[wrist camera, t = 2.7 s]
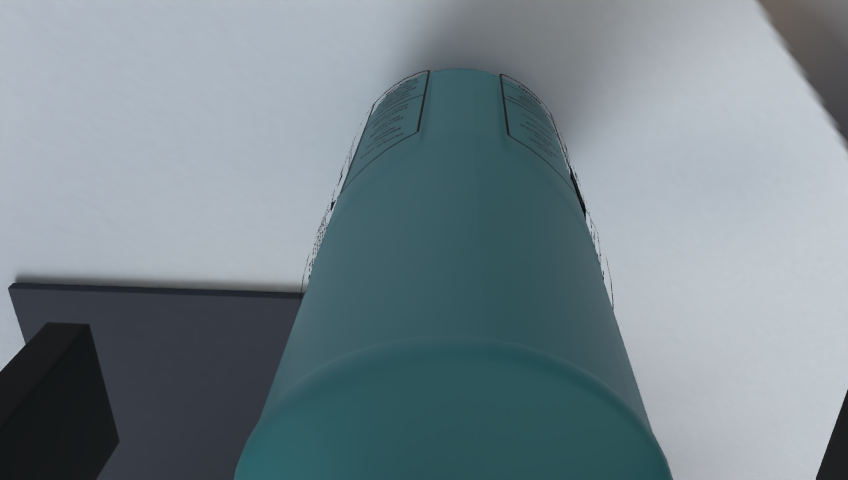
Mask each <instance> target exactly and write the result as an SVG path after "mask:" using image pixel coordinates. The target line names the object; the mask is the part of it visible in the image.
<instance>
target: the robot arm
mask: <svg viewBox="0 0 848 480" xmlns="http://www.w3.org/2000/svg"><path fill="white" fill-rule="evenodd" d="M119 442H120V440H119V437H118V433H117V429H116V425H115V421H114V417H113V413H112V409H111V406H110V402H109V398H108V394H107V390H106V386H105V382H104V379H103V375H102V371H101V367H100V363H99V359H98V355H97V352H96V348H95V344H94V340H93V336H92V332H91V328H90V324H80V323H57V322H47V323H46V324H45V325H44V326H43V327H42V328H41V329H40V330H39V331H38V332H37V334H36V335H35V336H34V337H33V338H32V339H31V340H30V341H29V342H28V343H27V344H26V345H25V346H24V347H23V348H22V349H21V350H20V351H19V353H18V354H17V355H16V356H15V357H14V358H13V359H12V360H11V361H10V362H9V363H8V364H7V365H6V366H5V367H4V368H3V369H2V370H1V372H0V480H96V479H97V478H98V476H99V474H100V473H101V471H102V470H103V468H104V466H105V465H106V463H107V462H108V460H109V458H110V457H111V455H112V454H113V452H114V450H115V449H116V447H117V446H118V444H119ZM816 480H848V390H847V393H846V396H845V399H844V402H843V404H842V407H841V410H840V413H839V415H838V418H837V421H836V424H835V427H834V429H833V432H832V435H831V438H830V441H829V443H828V446H827V449H826V452H825V455H824V457H823V460H822V463H821V466H820V468H819V471H818V474H817V477H816Z"/></svg>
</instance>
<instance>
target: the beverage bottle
mask: <svg viewBox="0 0 848 480" xmlns="http://www.w3.org/2000/svg"><path fill="white" fill-rule="evenodd" d="M426 71H428V74H424V75H421V76H419V77H417V78H414V79H412V80H411V79H410V80H408V81H405V82H404V83H405V84H404V83H403V85H402V84H400V85H401V86H400V85H399V86H400V87H398V86H397V87H398V88H397V89H396V90H394V91H393V92H391V91H390V92H391V93H390V92H389V93H390V94H389V93H387V94H389V95H387V94H386V95H387V96H386V97H385V98H384V99H382V100H383V101H382V102H381V103H380V104H379V105H378V107H377V108H376V110H375V111H374V112H373V114H372V115H371V113H372V110H373V107H374V105H375V103H376V102H377V101H378V100H377V101H376V102H375V103H374V104H373V107H372V110H371V113H370V115H371V117H370V115H369V118H370V119H369V118H368V121H367V123H366V126H365V128H364V131H363V133H362V136H361V138H360V141H359V144H358V146H357V149H356V152H355V155H354V157H353V160H352V163H351V165H350V168H348V170H349V171H348V173H347V176H346V179H345V181H344V184H343V187H342V189H341V192H340V195H339V196H338V200H337V199H336V200H337V203H336V205H335V208H334V211H333V213H332V216H331V219H330V221H329V224H328V227H326V232H324V233H325V235H322V237H323V236H324V237H323V239H322V243H321V245H319V247H320V248H319V251H318V250H317V251H318V253H317V256H316V259H314V260H315V261H314V264H313V263H312V262H313V261H312V262H310V264H311V263H312V266H313V268H312V271H311V275H309V277H310V278H308V279H309V283H308V286H307V289H306V292H305V294H304V297H303V300H302V303H301V295H300V308H299V311H298V314H297V317H296V319H295V322H294V325H293V328H292V331H291V333H290V336H289V339H288V342H287V344H286V347H285V350H284V353H283V356H282V358H281V361H280V364H279V367H278V370H277V372H276V375H275V378H274V381H273V383H272V386H271V389H270V392H269V395H268V397H267V400H266V403H265V406H264V408H263V411H262V414H261V417H260V420H259V421H258V423H257V424H256V426H255V428H254V429H253V431H252V433H251V434H250V436H249V438H248V439H247V442H246V444H245V447H244V449H243V452H242V454H241V456H240V459H239V462H238V464H237V467H236V470H235V475H234V480H673V478H672V475H671V472H670V469H669V466H668V462H667V459H666V457H665V455H664V453H663V451H662V449H661V447H660V446H659V444H658V442H657V440H656V438H655V436H654V434H653V432H652V430H651V426H650V423H649V420H648V417H647V414H646V411H645V408H644V405H643V402H642V399H641V396H640V392H639V389H638V386H637V383H636V380H635V377H634V374H633V371H632V368H631V365H630V361H629V358H628V355H627V352H626V349H625V346H624V343H623V340H622V337H621V334H620V331H619V327H618V324H617V321H616V318H615V315H614V312H613V309H612V306H611V303H610V300H609V297H608V293H607V290H606V287H605V284H604V281H603V280H604V277H603V276H602V271H601V267H600V262H599V259H598V253H596V250H595V245H594V244H593V241H592V238H591V237H592V231H591V235H590V232H589V229H588V226H587V223H586V211H587V210H586V209H585V203H584V202H583V200H582V197H581V194H580V191H579V189H578V186H577V183H576V181H577V180H575V178H574V175H573V172H572V169H571V166H569V163H570V161H569V163H568V161H567V163H568V167H569V168H568V169H570V175H569V170H568V169H567V166H566V163H565V161H564V158H563V155H562V152H561V149H560V146H559V143H558V141H557V138H556V136H557V135H555V132H554V131H555V130H554V129H553V127H552V125H551V123H550V121H549V119H548V117H547V116H546V114H547V113H546V112H545V113H546V114H545V113H544V111H543V110H542V109H541V107H540V106H539V105H538V104H537V103H536V102H535V100H534V99H535V98H534V99H533V98H532V95H530V93H529V95H528V94H527V91H524V90H525V89H521V88H522V87H521V88H520V86H519V85H518V86H519V87H518V86H517V85H515V84H514V83H512V82H510V81H508V80H506V79H504V78H502V75H504V74H499V76H497V75H494V74H491V73H488V72H484V71H479V70H474V69H461V68H460V69H446V70H440V71H434V72H431V73H430V70H426ZM422 72H425V71H422ZM419 73H421V72H419ZM417 74H418V73H417ZM414 75H416V74H414ZM412 76H413V75H412ZM504 76H506V75H504ZM410 77H411V76H410ZM507 77H508V76H507ZM407 78H409V77H407ZM407 78H405V79H407ZM509 78H510V77H509ZM405 79H404V80H405ZM511 79H512V78H511ZM513 80H514V79H513ZM402 81H403V80H402ZM515 81H516V80H515ZM400 82H401V81H400ZM400 82H399V83H400ZM518 83H519V82H518ZM397 84H398V83H397ZM521 85H522V84H521ZM394 86H395V85H394ZM524 87H525V86H524ZM391 88H392V87H391ZM391 88H390V89H391ZM395 88H396V87H395ZM390 89H389V90H390ZM527 89H528V88H527ZM392 90H393V89H392ZM528 90H529V89H528ZM529 91H530V90H529ZM386 92H387V91H386ZM386 92H385V93H386ZM385 93H384V94H385ZM533 94H534V93H533ZM534 95H535V94H534ZM535 96H536V95H535ZM533 97H534V96H533ZM536 97H537V96H536ZM538 99H539V98H538ZM539 100H540V99H539ZM536 101H537V99H536ZM540 101H541V100H540ZM538 102H539V101H538ZM541 102H542V101H541ZM539 104H541V103H539ZM546 108H547V107H546ZM370 109H371V108H370ZM549 112H550V111H549ZM367 113H368V112H367ZM550 114H551V113H550ZM547 115H548V114H547ZM551 115H552V114H551ZM548 116H549V115H548ZM549 117H550V116H549ZM551 117H552V116H551ZM553 118H554V117H553ZM553 118H552V119H551V120H553ZM361 123H362V122H361ZM553 123H554V121H553ZM556 124H557V123H556ZM360 126H361V125H360ZM554 126H555V124H554ZM557 126H558V125H557ZM558 128H559V127H558ZM555 129H556V127H555ZM556 132H557V130H556ZM557 134H558V133H557ZM561 136H562V135H561ZM355 137H356V136H355ZM558 137H559V135H558ZM558 139H559V140H560V138H558ZM354 140H355V139H354ZM353 142H354V141H353ZM560 143H561V141H560ZM353 144H354V143H353ZM561 146H562V144H561ZM565 146H566V145H565ZM565 146H564V147H565ZM351 147H352V146H351ZM562 149H563V147H562ZM566 149H567V148H566ZM349 152H350V151H349ZM563 152H564V149H563ZM565 153H568V152H564V154H565ZM350 154H351V153H350ZM347 157H348V156H347ZM351 157H352V154H351ZM565 157H566V155H565ZM568 157H569V155H568V156H567V158H566V160H567V159H568ZM349 159H350V158H349ZM345 162H346V161H345ZM349 163H350V161H349ZM343 167H344V166H343ZM348 167H349V166H348ZM573 169H574V168H573ZM342 171H343V170H342ZM342 171H341V173H342ZM574 172H575V171H574ZM575 173H576V172H575ZM340 175H341V178H342V175H343V174H340ZM575 176H576V177H577V175H576V174H575ZM570 177H571V178H570ZM341 178H340V180H341ZM571 180H572V181H571ZM578 181H579V180H578ZM572 182H573V183H572ZM339 183H340V181H339ZM579 184H580V183H579ZM338 185H339V184H338ZM573 185H574V186H573ZM574 188H575V189H574ZM334 191H335V190H334ZM575 191H576V192H575ZM576 194H577V195H576ZM332 195H334V194H332ZM577 197H578V198H577ZM583 199H584V197H583ZM332 200H333V199H332ZM578 200H579V201H578ZM579 202H580V203H579ZM334 203H335V201H334V202H333V201H332V203H331V208H330V209H331V211H332V208H333V206H334ZM580 205H581V206H580ZM328 206H329V205H328ZM581 208H582V209H581ZM582 211H583V212H582ZM328 212H329V211H328ZM587 213H588V212H587ZM325 214H326V213H325ZM583 214H584V215H583ZM589 214H590V213H589ZM326 215H327V214H326ZM584 217H585V218H584ZM324 219H325V224H326V218H324ZM323 221H324V220H323ZM591 221H592V220H591ZM592 223H593V222H592ZM322 224H323V222H321V225H322ZM593 225H594V224H593ZM323 226H324V224H323ZM326 226H327V225H326ZM320 227H321V226H320ZM594 227H595V226H594ZM591 228H592V225H591ZM319 229H320V228H319ZM321 229H322V227H321ZM595 229H596V228H595ZM324 231H325V228H324ZM596 231H597V230H596ZM319 232H320V231H319ZM317 233H318V232H317ZM597 233H598V232H597ZM320 234H321V233H320ZM322 234H323V231H322ZM320 236H321V235H320ZM317 237H318V238H319V236H317ZM593 237H595V233H594V236H593ZM320 238H321V237H320ZM598 239H599V238H598ZM318 240H319V239H318ZM320 240H321V239H320ZM320 240H319V241H320ZM594 240H595V239H594ZM598 242H599V240H598ZM594 243H595V242H594ZM314 245H316V244H314ZM317 247H318V245H317ZM313 250H314V248H313ZM315 250H316V248H315ZM313 253H314V251H313ZM315 254H316V252H315ZM600 256H601V255H600ZM308 257H309V256H308ZM312 260H313V259H312ZM606 260H607V258H606ZM307 261H308V260H307ZM306 265H307V264H306ZM607 265H608V263H607ZM309 266H310V265H309ZM305 269H306V268H305ZM608 269H609V268H608ZM309 271H310V269H309ZM609 274H610V273H609ZM603 275H604V271H603ZM303 278H304V276H303ZM610 279H611V278H610ZM302 285H303V282H302ZM611 289H612V284H611ZM301 291H302V288H301ZM612 300H613V295H612Z"/></svg>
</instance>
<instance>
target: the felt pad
mask: <svg viewBox="0 0 848 480" xmlns="http://www.w3.org/2000/svg"><path fill="white" fill-rule="evenodd" d="M8 290H9V293H10V297H11V300H12V303H13V306H14V309H15V312H16V315H17V319H18V322H19V325H20V328H21V331H22V334H23V337H24V341H25V344H27V343H28V342H29V341H30V340H31V339H32V338H33V337H34V336H35V335H36V334H37V332H38V331H39V330H40V329H41V328H42V327H43V326H44V325H45V324H46V323H47V322H57V323H80V324H90V328H91V332H92V336H93V340H94V344H95V348H96V352H97V355H98V359H99V363H100V367H101V371H102V375H103V379H104V382H105V386H106V390H107V394H108V398H109V402H110V406H111V409H112V413H113V417H114V421H115V425H116V429H117V433H118V437H119V440H120V442H119V444H118V446H117V447H116V449H115V450H114V452H113V454H112V455H111V457H110V458H109V460H108V462H107V463H106V465H105V466H104V468H103V470H102V471H101V473H100V474H99V476H98V478H97V479H96V480H234V475H235V470H236V467H237V464H238V462H239V459H240V456H241V454H242V452H243V449H244V447H245V444H246V442H247V439H248V438H249V436H250V434H251V433H252V431H253V429H254V428H255V426H256V424H257V423H258V421H259V420H260V417H261V414H262V411H263V408H264V406H265V403H266V400H267V397H268V395H269V392H270V389H271V386H272V383H273V381H274V378H275V375H276V372H277V370H278V367H279V364H280V361H281V358H282V356H283V353H284V350H285V347H286V344H287V342H288V339H289V336H290V333H291V331H292V328H293V325H294V322H295V319H296V317H297V314H298V311H299V308H300V295H301V303H302V300H303V297H304V294H300V293H272V292H245V291H217V290H190V289H162V288H135V287H108V286H80V285H53V284H25V283H13V284H12V285H11V286H10V287H9V288H8Z"/></svg>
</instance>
